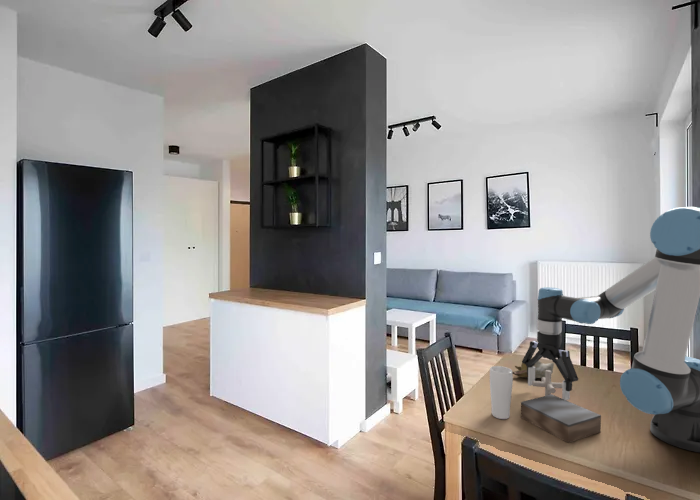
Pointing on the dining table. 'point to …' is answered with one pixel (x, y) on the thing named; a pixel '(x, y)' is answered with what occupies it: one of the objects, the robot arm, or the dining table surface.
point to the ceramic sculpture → (539, 369)
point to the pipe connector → (547, 384)
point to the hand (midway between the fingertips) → (547, 391)
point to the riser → (561, 417)
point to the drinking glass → (501, 391)
